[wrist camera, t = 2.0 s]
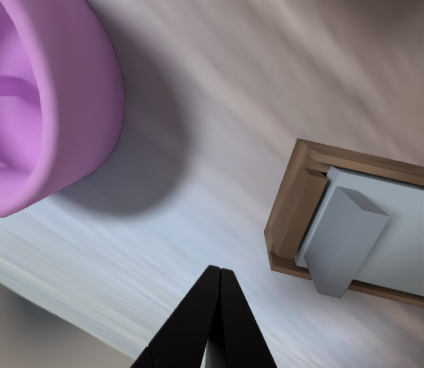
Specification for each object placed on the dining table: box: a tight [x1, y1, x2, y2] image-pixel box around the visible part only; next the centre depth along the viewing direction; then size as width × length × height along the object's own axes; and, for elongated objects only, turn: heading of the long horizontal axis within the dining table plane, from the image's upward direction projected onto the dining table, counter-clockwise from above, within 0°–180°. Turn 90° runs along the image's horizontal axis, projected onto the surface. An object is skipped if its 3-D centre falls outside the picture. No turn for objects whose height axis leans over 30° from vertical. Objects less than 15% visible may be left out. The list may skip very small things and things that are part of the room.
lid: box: [294, 165, 424, 298], centre depth 12 cm, size 10×7×4 cm, turn 78°
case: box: [264, 138, 424, 308], centre depth 15 cm, size 12×8×4 cm, turn 78°
